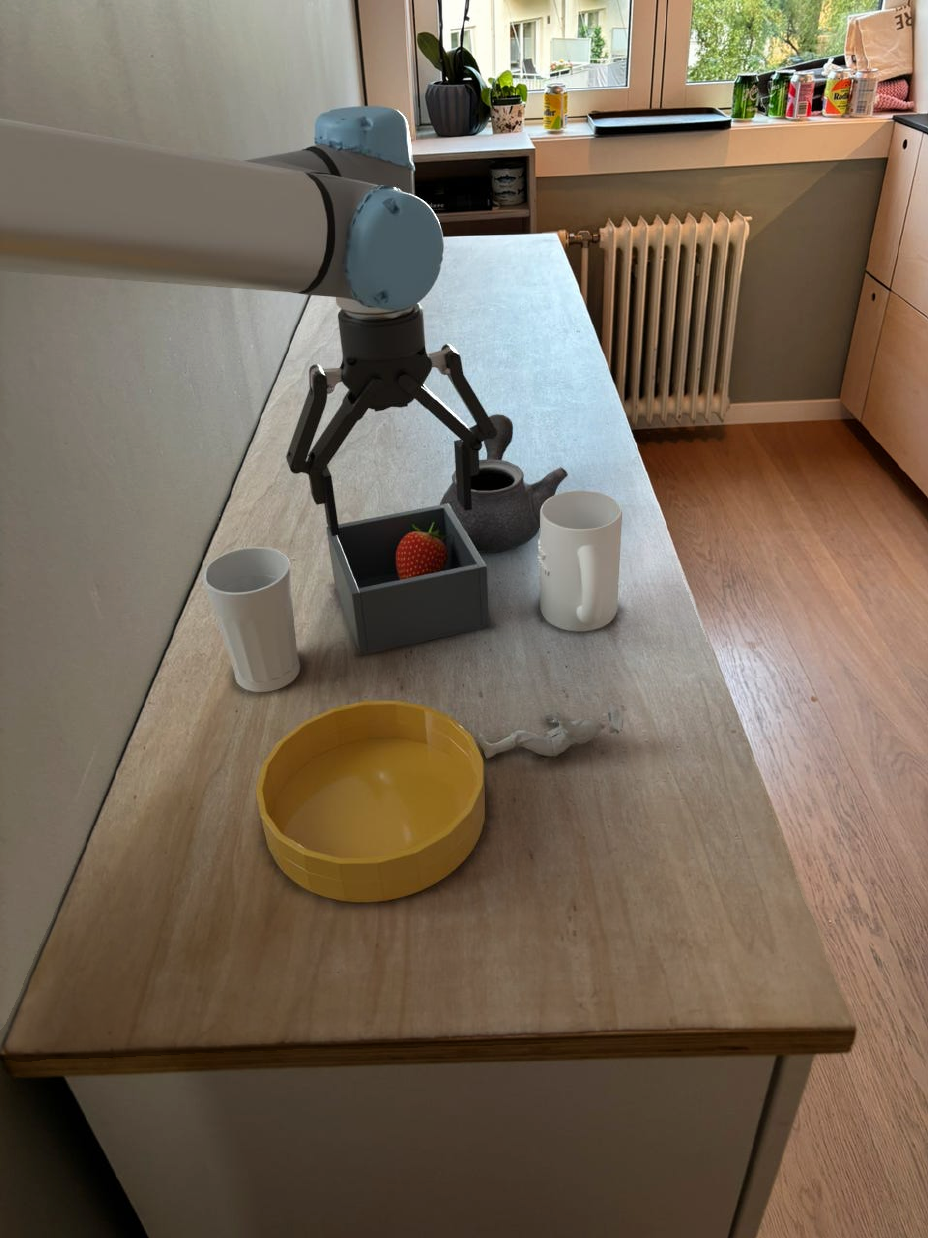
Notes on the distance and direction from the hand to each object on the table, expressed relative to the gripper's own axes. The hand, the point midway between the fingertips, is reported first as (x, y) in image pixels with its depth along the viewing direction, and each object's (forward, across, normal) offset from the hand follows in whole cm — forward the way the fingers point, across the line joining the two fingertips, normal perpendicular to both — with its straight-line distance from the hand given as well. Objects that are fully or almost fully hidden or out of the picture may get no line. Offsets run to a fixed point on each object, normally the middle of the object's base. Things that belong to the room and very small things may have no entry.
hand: (399, 516), depth 99 cm
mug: (+11, -16, +9) cm, 22 cm away
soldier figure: (+11, -6, +26) cm, 29 cm away
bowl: (+11, +10, +28) cm, 32 cm away
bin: (+11, 0, 0) cm, 11 cm away
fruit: (+10, 0, 0) cm, 10 cm away
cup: (+11, +16, +6) cm, 20 cm away
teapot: (+11, -15, -14) cm, 23 cm away
